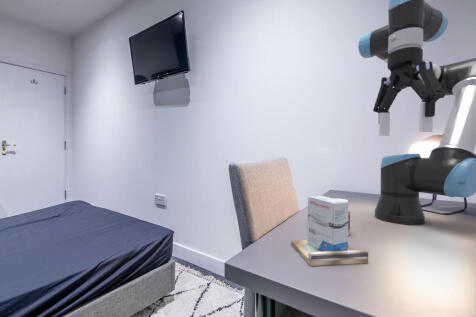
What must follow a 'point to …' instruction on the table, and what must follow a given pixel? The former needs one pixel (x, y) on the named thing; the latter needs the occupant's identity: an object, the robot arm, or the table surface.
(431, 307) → the table surface
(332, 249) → the ink box
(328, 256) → the tan flat block
